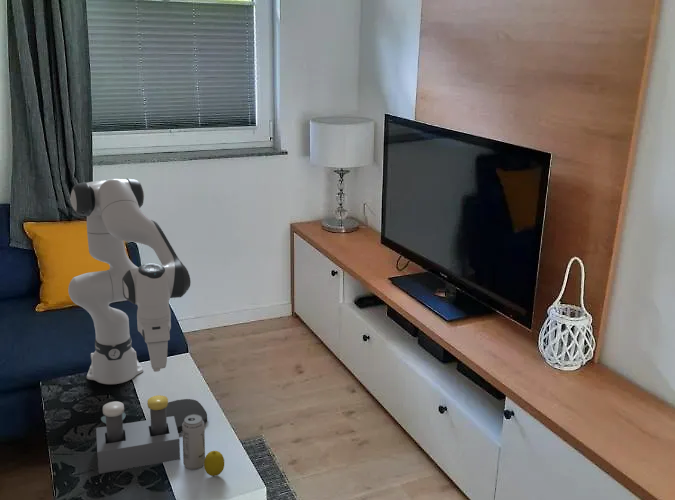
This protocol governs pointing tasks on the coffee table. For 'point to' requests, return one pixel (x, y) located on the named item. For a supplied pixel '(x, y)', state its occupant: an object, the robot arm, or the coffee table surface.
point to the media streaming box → (185, 411)
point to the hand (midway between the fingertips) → (156, 367)
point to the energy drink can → (193, 442)
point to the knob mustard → (158, 414)
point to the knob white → (114, 421)
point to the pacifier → (105, 418)
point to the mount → (137, 446)
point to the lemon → (214, 463)
